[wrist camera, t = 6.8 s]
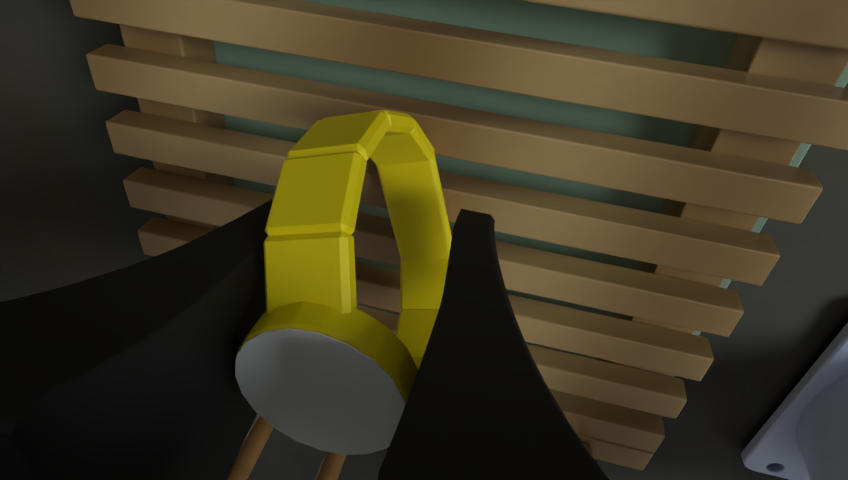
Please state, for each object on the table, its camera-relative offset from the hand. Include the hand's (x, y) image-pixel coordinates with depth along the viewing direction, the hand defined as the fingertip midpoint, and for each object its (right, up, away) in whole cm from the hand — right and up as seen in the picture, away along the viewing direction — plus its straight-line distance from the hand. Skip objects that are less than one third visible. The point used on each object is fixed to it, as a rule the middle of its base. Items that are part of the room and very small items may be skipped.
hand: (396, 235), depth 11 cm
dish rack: (+1, +2, +4) cm, 5 cm away
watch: (0, +1, +1) cm, 2 cm away
